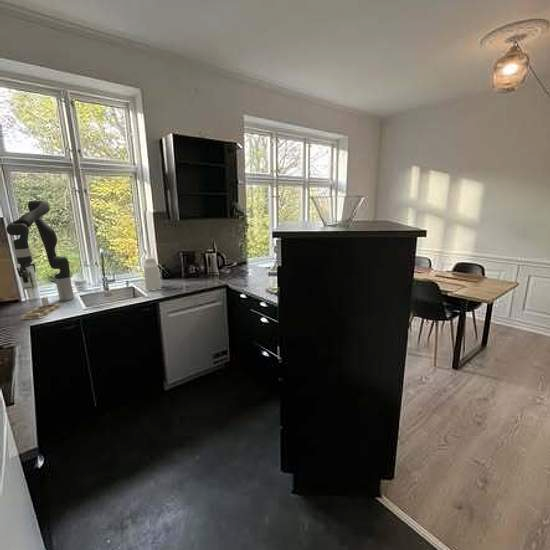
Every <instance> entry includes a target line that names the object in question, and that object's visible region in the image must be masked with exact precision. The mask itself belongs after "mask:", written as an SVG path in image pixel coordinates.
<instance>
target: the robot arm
mask: <svg viewBox="0 0 550 550" xmlns="http://www.w3.org/2000/svg"><path fill="white" fill-rule="evenodd" d="M27 209H28V212H26V213H24V214H22V215H21V216H20V217H19V218H18V219H16V220H14V221H12V222H10V223H9V224H8V225H7V226H6V228H5V230H6V232H7V234H8V235H10V236H19V238H16V239H14V240H13V242H12V243H13V248H14V254H15V258H16V263H17V264H18V265H19V267H16V270H17V274H18V276H19V278H21V277H22V278H23V281H24V283H28V278H27V273H28V272H27V269H26V267H29V266H33V267H34V272H35V274H36V273H37V271H36V270H37V269H36V265H35V263H33V257H32V253H31V249H30V246H29V233H30V229H29V228H30V227H31V226H32V225H33V224H34V223H35V225H36V228H37V231H38V234H39V236H40V239H41V241H42V245H43V247H44V250H45V253H46V257H47V260H48V265H49V267H50V268H51V269H53V270H59V272H58V273H56V274H55V275H54V278H55V283H56V289H57V294H58V298H59V301H61V302H64V301H71V300H72V299H74V298H75V295H74V291H73V286H72V281H71V276H70V274H71V270H70V269H71V268H70V263H69V259H68V258H67V257H66V256H57V252H56V247H57V245H58V237H57V234H56V231H55V230H54V228H52V227H51V226H50V225H49V224H48V223H46V221H45V220H44V219H43V218H42V217H43V216H44V215H46V214H49V212H50V210H51V207H50V204H49V202H48V201H47V200H44V199H43V200H42V199H40V200H39V199H38V200H29V201H28V202H27ZM23 271H26V272H23ZM21 274H22V275H21ZM24 274H25V275H24Z"/></svg>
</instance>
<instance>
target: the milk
mask: <svg viewBox="0 0 550 550" xmlns="http://www.w3.org/2000/svg"><path fill="white" fill-rule="evenodd" d="M155 259H156V258H154V257H152V258H146V259H145V263H144V280H145V291H146V290H152V289H159V288H161V287H162V282H161V276H160V271H159V265H158V263H157V261H156V260H155Z"/></svg>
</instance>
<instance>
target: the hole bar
mask: <svg viewBox="0 0 550 550" xmlns="http://www.w3.org/2000/svg"><path fill="white" fill-rule="evenodd" d="M49 307H50V308H46V309H43V305H42V304H40V305H39V306H37V307H35V308H33V309H32V310H30V311H27V312H25V313H24V314H22V315H21V316H20V319H21V321H23V320H22V319H27V320H31V319H30V318H39V317H43V316H45V315H47V314H48V313H50V312H52V311H53V312H54V310H55V311H56V310H59V307H60V308H61V307H62V305H61V303H49ZM53 312H52V313H53ZM34 313H40V314H34ZM50 314H51V313H50ZM48 315H49V314H48ZM48 315H47V316H48ZM45 317H46V316H45ZM43 318H44V317H43Z"/></svg>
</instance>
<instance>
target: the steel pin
mask: <svg viewBox="0 0 550 550" xmlns="http://www.w3.org/2000/svg"><path fill="white" fill-rule="evenodd" d="M40 299H41V305H43V309H46V308H50V307H49V304H50V303H49V298H48V297H47V296H45V297H41V298H40Z"/></svg>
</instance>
